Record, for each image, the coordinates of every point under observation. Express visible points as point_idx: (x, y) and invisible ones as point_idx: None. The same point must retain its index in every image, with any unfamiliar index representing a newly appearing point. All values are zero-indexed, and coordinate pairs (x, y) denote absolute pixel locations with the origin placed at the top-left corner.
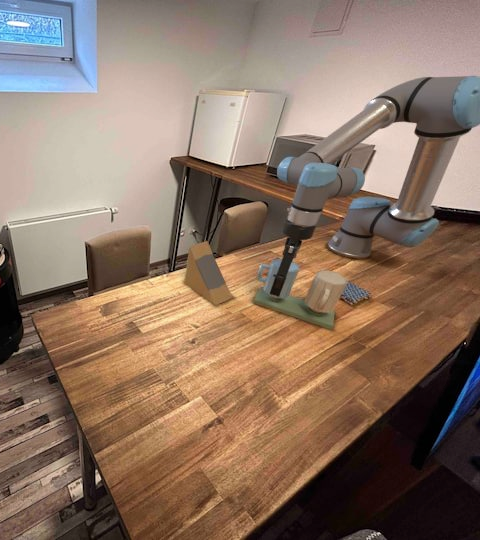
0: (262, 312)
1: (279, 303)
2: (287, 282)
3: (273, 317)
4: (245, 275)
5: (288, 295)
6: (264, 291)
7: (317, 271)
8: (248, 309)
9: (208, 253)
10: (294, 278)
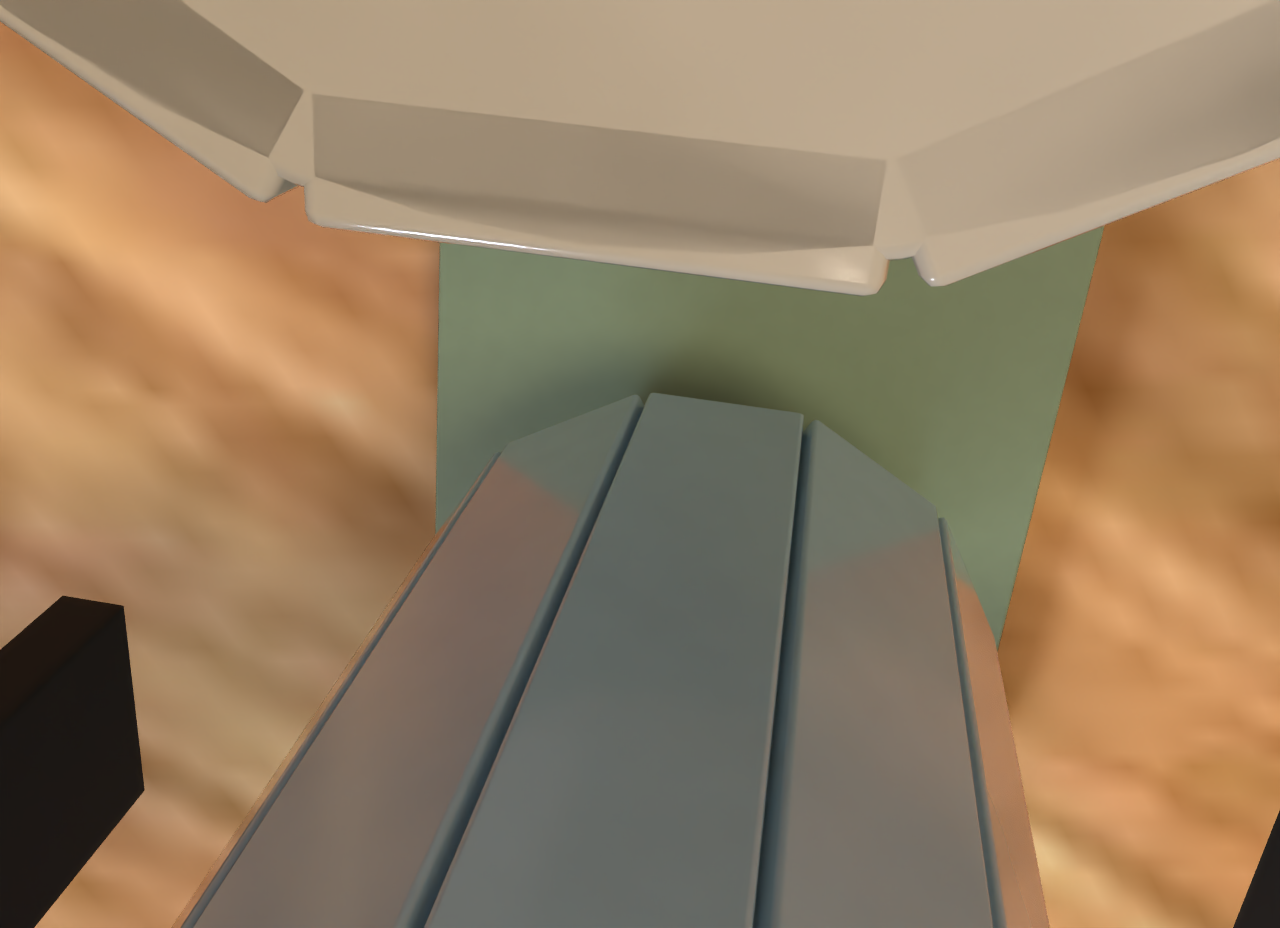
0: (1179, 662)
1: (875, 453)
2: (1023, 924)
3: (1276, 486)
4: (163, 906)
5: (822, 438)
6: None
7: (229, 156)
8: (1176, 859)
9: None
10: (843, 850)
